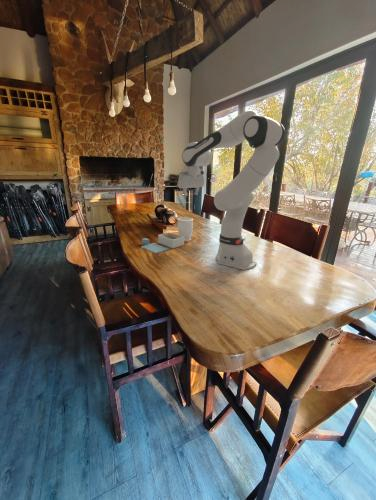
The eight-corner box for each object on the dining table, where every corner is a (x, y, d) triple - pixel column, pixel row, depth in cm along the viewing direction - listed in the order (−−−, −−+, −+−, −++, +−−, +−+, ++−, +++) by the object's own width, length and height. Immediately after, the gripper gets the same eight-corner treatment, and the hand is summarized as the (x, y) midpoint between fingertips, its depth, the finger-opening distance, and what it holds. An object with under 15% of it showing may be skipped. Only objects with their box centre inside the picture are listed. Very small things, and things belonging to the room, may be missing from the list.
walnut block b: (172, 243, 155) (172, 237, 154) (166, 244, 153) (166, 238, 152) (169, 241, 158) (169, 235, 157) (163, 242, 156) (163, 236, 155)
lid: (169, 250, 145) (169, 243, 143) (155, 254, 137) (155, 247, 136) (150, 243, 157) (150, 236, 155) (137, 246, 150) (136, 240, 148)
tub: (184, 245, 153) (184, 236, 151) (172, 249, 146) (172, 240, 144) (169, 240, 162) (169, 232, 160) (158, 243, 155) (158, 235, 153)
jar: (193, 238, 169) (193, 217, 164) (192, 242, 159) (192, 220, 154) (178, 237, 170) (178, 216, 164) (176, 241, 160) (176, 220, 155)
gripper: (183, 172, 133) (183, 197, 138) (206, 171, 148) (205, 194, 152) (175, 171, 137) (175, 196, 142) (198, 171, 152) (197, 193, 156)
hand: (191, 195), depth 147 cm, fingers open, 8 cm apart
